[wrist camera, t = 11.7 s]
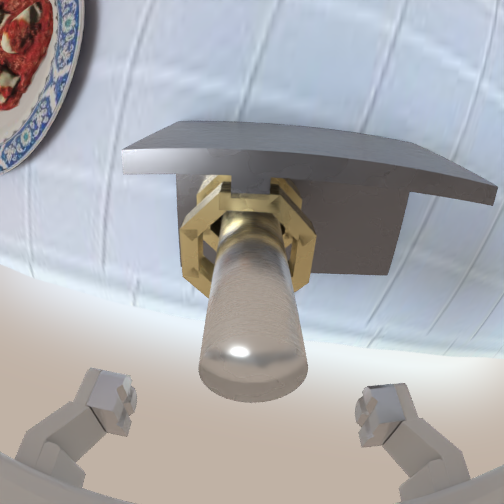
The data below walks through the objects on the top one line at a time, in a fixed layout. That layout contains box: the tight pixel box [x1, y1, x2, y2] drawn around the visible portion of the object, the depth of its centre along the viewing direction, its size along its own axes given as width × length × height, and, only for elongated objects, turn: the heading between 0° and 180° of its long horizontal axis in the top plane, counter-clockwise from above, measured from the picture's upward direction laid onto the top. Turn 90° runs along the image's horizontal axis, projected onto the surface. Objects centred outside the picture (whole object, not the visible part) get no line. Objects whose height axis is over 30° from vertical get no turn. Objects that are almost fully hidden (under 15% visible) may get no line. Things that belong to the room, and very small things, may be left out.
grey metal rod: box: [199, 210, 308, 403], centre depth 18 cm, size 4×4×17 cm
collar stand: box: [122, 121, 498, 298], centre depth 22 cm, size 20×13×12 cm, turn 87°
